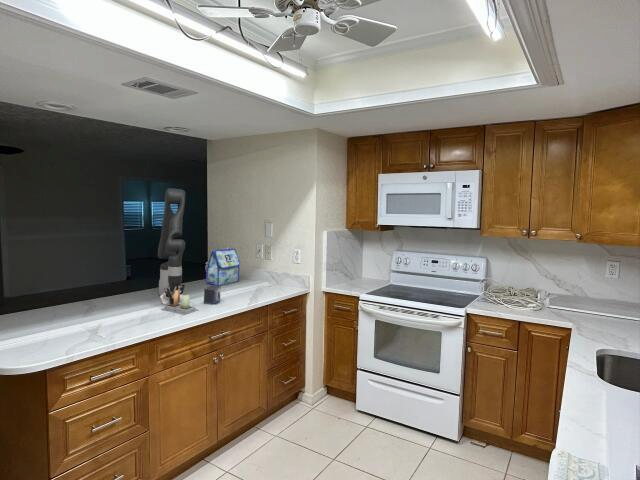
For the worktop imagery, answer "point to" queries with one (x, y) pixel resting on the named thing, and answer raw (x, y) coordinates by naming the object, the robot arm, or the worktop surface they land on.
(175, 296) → the jaw peg orange
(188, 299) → the jaw peg olive
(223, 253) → the lunch bag
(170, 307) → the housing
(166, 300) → the mug
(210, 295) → the small box
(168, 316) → the worktop surface
